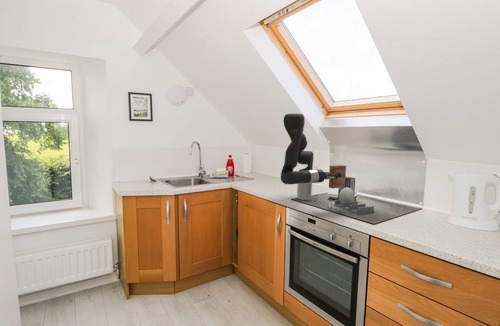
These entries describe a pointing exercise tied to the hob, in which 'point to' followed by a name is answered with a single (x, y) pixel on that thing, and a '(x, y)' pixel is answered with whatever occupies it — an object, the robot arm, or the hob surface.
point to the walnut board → (341, 180)
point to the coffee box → (348, 185)
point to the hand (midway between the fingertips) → (338, 174)
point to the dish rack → (354, 207)
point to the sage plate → (346, 195)
